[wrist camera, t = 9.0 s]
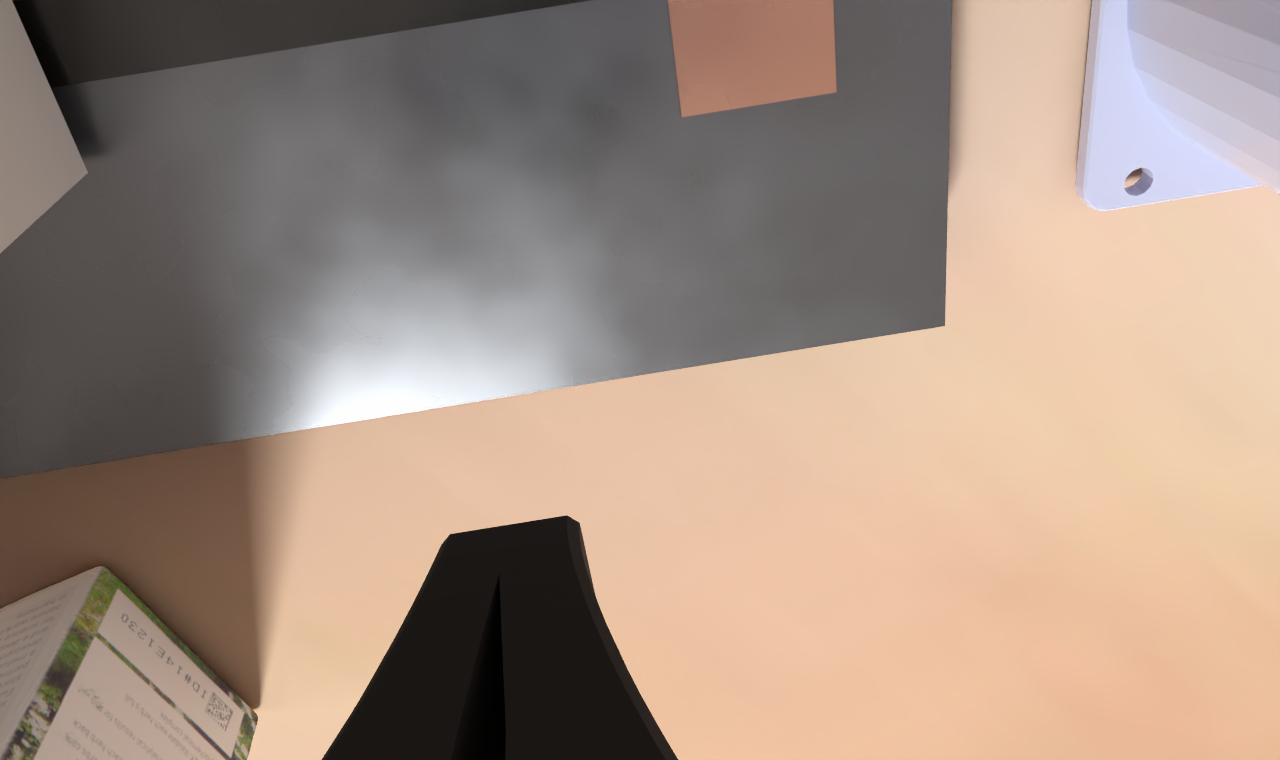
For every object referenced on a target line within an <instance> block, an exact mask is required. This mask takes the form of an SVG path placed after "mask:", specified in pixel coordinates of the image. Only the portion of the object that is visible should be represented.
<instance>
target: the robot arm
mask: <svg viewBox="0 0 1280 760" xmlns="http://www.w3.org/2000/svg"><path fill="white" fill-rule="evenodd" d="M1139 168H1142V174H1141V177H1140V179H1139V180H1138V181H1137V182H1136V183H1135V184H1134V185H1132V186H1130V187H1127V188H1124V183H1125V180H1126V178H1127V176H1128V175H1129V174H1130V173H1131V172H1132V171H1134V170H1136V169H1139ZM1075 184H1076V192H1077V195H1078V196H1079V197H1080V199H1081V200H1082V201H1083V202H1084V203H1085V204H1086V205H1088V206H1089V207H1091V208H1093V209H1095V210H1097V211H1110V210H1116V209H1122V208H1128V207H1135V206H1141V205H1147V204H1153V203H1159V202H1165V201H1172V200H1178V199H1184V198H1190V197H1196V196H1202V195H1209V194H1215V193H1221V192H1227V191H1233V190H1240V189H1246V188H1252V187H1258V186H1266V187H1267V188H1269V189H1271V190H1272V191H1274V192H1276V193H1278V194H1279V195H1280V0H1092V8H1091V19H1090V30H1089V41H1088V52H1087V63H1086V74H1085V85H1084V96H1083V107H1082V118H1081V129H1080V140H1079V151H1078V162H1077V173H1076V183H1075ZM322 760H678V759H677V757H676V755H675V754H674V752H673V750H672V749H671V747H670V745H669V744H668V742H667V740H666V739H665V737H664V735H663V734H662V732H661V730H660V729H659V727H658V725H657V723H656V721H655V720H654V718H653V716H652V714H651V713H650V711H649V709H648V707H647V705H646V704H645V702H644V700H643V698H642V696H641V695H640V693H639V691H638V689H637V687H636V685H635V683H634V681H633V679H632V677H631V675H630V673H629V671H628V670H627V667H626V665H625V663H624V661H623V659H622V657H621V655H620V652H619V650H618V648H617V646H616V644H615V642H614V639H613V637H612V635H611V633H610V631H609V629H608V627H607V624H606V622H605V620H604V617H603V615H602V612H601V610H600V607H599V605H598V602H597V599H596V596H595V592H594V588H593V583H592V578H591V574H590V569H589V565H588V560H587V555H586V551H585V546H584V541H583V537H582V532H581V527H580V523H579V522H577V521H575V520H574V519H572V518H570V517H569V516H561V517H555V518H548V519H542V520H536V521H530V522H524V523H517V524H511V525H505V526H499V527H492V528H486V529H480V530H474V531H468V532H461V533H455V534H450V535H449V536H448V538H447V539H446V540H445V541H444V542H443V544H442V545H441V547H440V549H439V552H438V554H437V556H436V558H435V560H434V562H433V564H432V566H431V568H430V570H429V572H428V575H427V577H426V579H425V581H424V583H423V585H422V587H421V589H420V591H419V593H418V595H417V597H416V599H415V601H414V603H413V605H412V607H411V608H410V610H409V612H408V614H407V616H406V618H405V620H404V622H403V624H402V626H401V627H400V629H399V631H398V633H397V635H396V637H395V639H394V641H393V642H392V644H391V646H390V648H389V649H388V651H387V653H386V655H385V656H384V658H383V660H382V662H381V663H380V665H379V667H378V669H377V670H376V672H375V674H374V676H373V677H372V679H371V681H370V683H369V685H368V686H367V688H366V690H365V692H364V693H363V695H362V697H361V698H360V700H359V702H358V703H357V705H356V707H355V708H354V710H353V712H352V713H351V715H350V716H349V718H348V720H347V721H346V723H345V724H344V726H343V727H342V729H341V731H340V732H339V734H338V735H337V737H336V738H335V740H334V741H333V743H332V745H331V746H330V748H329V749H328V751H327V752H326V754H325V755H324V757H323V759H322Z"/></svg>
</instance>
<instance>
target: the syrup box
mask: <svg viewBox="0 0 1280 760" xmlns="http://www.w3.org/2000/svg"><path fill="white" fill-rule="evenodd" d="M257 721H258V716H257V714H256V713H255V712H254V711H253V710H252V709H251V708H250V707H249V706H248V705H247V704H246V703H245V702H244V701H243V700H242V699H241V698H240V697H239V696H238V695H237V694H236V693H235V692H234V691H233V690H232V689H231V688H230V687H228V686H227V685H226V684H225V683H224V682H223V681H222V680H221V679H220V678H219V677H218V676H217V675H216V674H215V673H214V672H213V671H212V670H211V669H210V668H209V667H208V666H206V664H205V663H204V662H203V661H202V660H201V659H200V658H199V657H198V656H197V655H196V654H194V653H193V652H192V651H191V650H190V648H189V647H188V646H186V645H185V644H184V643H183V642H182V641H181V639H180V638H179V637H178V636H177V635H175V634H174V633H173V632H172V631H171V630H170V629H169V628H168V627H167V626H166V625H165V624H164V623H163V622H162V621H161V620H160V619H159V618H158V617H157V616H156V615H155V614H154V613H153V612H152V611H151V610H150V609H149V608H148V607H147V606H146V605H145V604H144V603H143V602H142V601H141V600H140V599H139V598H138V597H137V596H136V595H135V594H134V593H133V592H132V591H131V590H130V589H129V588H128V587H127V586H126V585H125V584H124V583H122V582H121V581H120V580H119V579H118V578H117V577H116V576H115V575H114V574H113V573H111V572H110V571H109V570H108V569H107V568H106V567H104V566H98V567H95V568H93V569H90V570H88V571H85V572H83V573H81V574H78V575H76V576H73V577H71V578H68V579H66V580H64V581H61V582H59V583H57V584H54V585H52V586H49V587H47V588H45V589H42V590H40V591H38V592H36V593H33V594H31V595H29V596H27V597H25V598H23V599H20V600H18V601H16V602H14V603H12V604H9V605H7V606H5V607H3V608H1V609H0V760H247V757H248V754H249V751H250V747H251V743H252V739H253V735H254V732H255V729H256V725H257Z"/></svg>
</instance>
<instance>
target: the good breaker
mask: <svg viewBox="0 0 1280 760" xmlns="http://www.w3.org/2000/svg"><path fill="white" fill-rule="evenodd" d="M87 173H88V171H87V169H86V167H85V165H84V162H83V160H82V158H81V156H80V153H79V151H78V149H77V147H76V144H75V142H74V140H73V137H72V135H71V133H70V131H69V128H68V126H67V124H66V122H65V119H64V117H63V115H62V113H61V110H60V108H59V106H58V103H57V101H56V99H55V97H54V94H53V92H52V90H51V88H50V85H49V83H48V81H47V79H46V76H45V74H44V72H43V69H42V67H41V65H40V63H39V60H38V58H37V56H36V54H35V51H34V49H33V47H32V45H31V42H30V40H29V38H28V35H27V33H26V31H25V29H24V26H23V24H22V22H21V20H20V17H19V15H18V13H17V11H16V8H15V6H14V4H13V1H12V0H0V253H1V252H2V251H3V250H4V249H6V248H7V247H8V246H9V245H10V244H11V243H12V242H13V241H14V240H15V239H16V238H18V237H19V236H20V235H21V234H22V233H23V232H24V231H25V230H26V229H27V228H28V227H30V226H31V225H32V224H33V223H34V222H35V221H36V220H37V219H38V218H39V217H40V216H41V215H43V214H44V213H45V212H46V211H47V210H48V209H49V208H50V207H51V206H52V205H53V204H55V203H56V202H57V201H58V200H59V199H60V198H61V197H62V196H63V195H64V194H65V193H67V192H68V191H69V190H70V189H71V188H72V187H73V186H74V185H75V184H76V183H77V182H78V181H80V180H81V179H82V178H83V177H84V176H85V175H86V174H87Z"/></svg>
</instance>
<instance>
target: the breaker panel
mask: <svg viewBox="0 0 1280 760" xmlns="http://www.w3.org/2000/svg"><path fill="white" fill-rule="evenodd" d="M12 1H13V4H14V6H15V8H16V11H17V13H18V15H19V17H20V20H21V22H22V24H23V26H24V29H25V31H26V33H27V35H28V38H29V40H30V42H31V45H32V47H33V49H34V51H35V54H36V56H37V58H38V60H39V63H40V65H41V67H42V69H43V72H44V74H45V76H46V79H47V81H48V83H49V85H50V88H51V90H52V92H53V94H54V97H55V99H56V101H57V103H58V106H59V108H60V110H61V113H62V115H63V117H64V119H65V122H66V124H67V126H68V128H69V131H70V133H71V135H72V137H73V140H74V142H75V144H76V147H77V149H78V151H79V153H80V156H81V158H82V160H83V162H84V165H85V167H86V169H87V171H88V173H87V174H86V175H85V176H84V177H83V178H82V179H81V180H80V181H78V182H77V183H76V184H75V185H74V186H73V187H72V188H71V189H70V190H69V191H68V192H67V193H65V194H64V195H63V196H62V197H61V198H60V199H59V200H58V201H57V202H56V203H55V204H53V205H52V206H51V207H50V208H49V209H48V210H47V211H46V212H45V213H44V214H43V215H41V216H40V217H39V218H38V219H37V220H36V221H35V222H34V223H33V224H32V225H31V226H30V227H28V228H27V229H26V230H25V231H24V232H23V233H22V234H21V235H20V236H19V237H18V238H16V239H15V240H14V241H13V242H12V243H11V244H10V245H9V246H8V247H7V248H6V249H4V250H3V251H2V252H1V253H0V479H2V478H8V477H14V476H20V475H27V474H33V473H39V472H45V471H51V470H57V469H64V468H70V467H76V466H82V465H88V464H94V463H101V462H107V461H113V460H119V459H125V458H132V457H138V456H144V455H150V454H156V453H162V452H169V451H175V450H181V449H187V448H193V447H199V446H206V445H212V444H218V443H224V442H230V441H237V440H243V439H249V438H255V437H261V436H267V435H274V434H280V433H286V432H292V431H298V430H304V429H311V428H317V427H323V426H329V425H335V424H342V423H348V422H354V421H360V420H366V419H372V418H379V417H385V416H391V415H397V414H403V413H409V412H416V411H422V410H428V409H434V408H440V407H446V406H453V405H459V404H465V403H471V402H477V401H484V400H490V399H496V398H502V397H508V396H514V395H521V394H527V393H533V392H539V391H545V390H551V389H558V388H564V387H570V386H576V385H582V384H589V383H595V382H601V381H607V380H613V379H619V378H626V377H632V376H638V375H644V374H650V373H656V372H663V371H669V370H675V369H681V368H687V367H694V366H700V365H706V364H712V363H718V362H724V361H731V360H737V359H743V358H749V357H755V356H761V355H768V354H774V353H780V352H786V351H792V350H799V349H805V348H811V347H817V346H823V345H829V344H836V343H842V342H848V341H854V340H860V339H866V338H873V337H879V336H885V335H891V334H897V333H904V332H910V331H916V330H922V329H928V328H934V327H941V326H945V295H946V250H947V205H948V160H949V114H950V69H951V24H952V0H12Z"/></svg>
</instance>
